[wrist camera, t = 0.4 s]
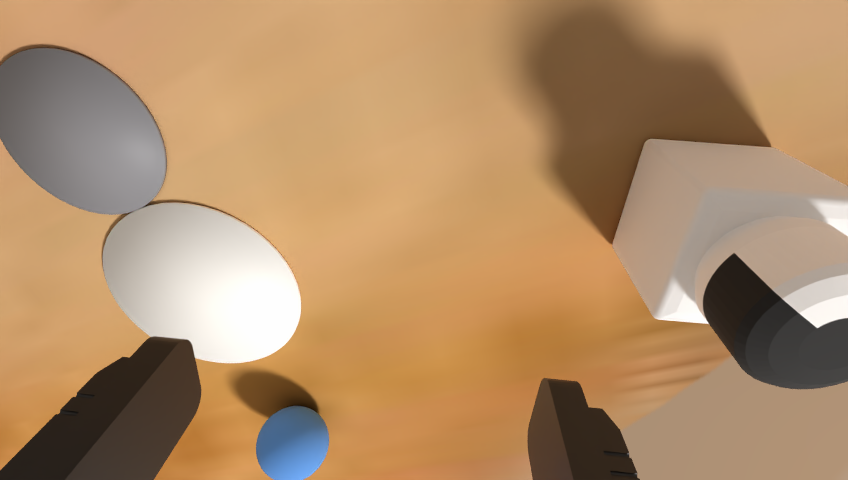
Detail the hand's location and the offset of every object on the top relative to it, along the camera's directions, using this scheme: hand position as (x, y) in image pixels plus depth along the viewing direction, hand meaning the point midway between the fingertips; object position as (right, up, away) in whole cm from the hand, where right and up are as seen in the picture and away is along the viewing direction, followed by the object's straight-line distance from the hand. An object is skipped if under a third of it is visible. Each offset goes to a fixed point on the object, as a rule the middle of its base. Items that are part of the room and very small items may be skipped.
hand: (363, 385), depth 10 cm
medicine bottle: (+17, +6, +16) cm, 24 cm away
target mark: (-14, 0, +22) cm, 26 cm away
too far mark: (-19, +9, +16) cm, 27 cm away
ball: (-9, -13, +25) cm, 30 cm away
